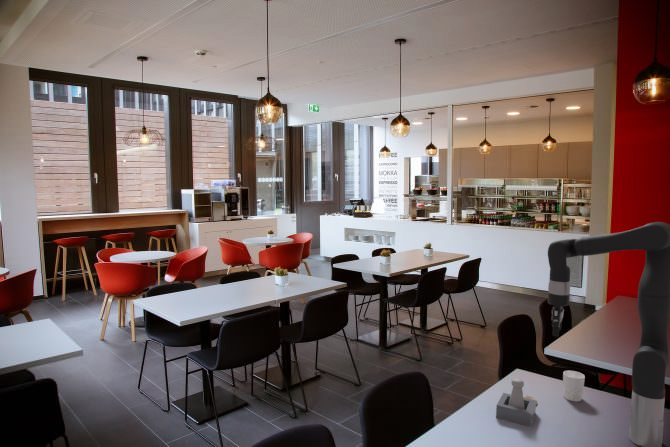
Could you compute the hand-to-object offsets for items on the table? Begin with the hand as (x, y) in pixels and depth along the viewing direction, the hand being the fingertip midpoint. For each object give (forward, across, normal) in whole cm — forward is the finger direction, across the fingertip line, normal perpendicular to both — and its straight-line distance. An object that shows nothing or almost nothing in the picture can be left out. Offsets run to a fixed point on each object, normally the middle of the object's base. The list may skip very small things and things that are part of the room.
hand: (556, 333), depth 183 cm
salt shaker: (+29, -15, +11) cm, 34 cm away
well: (+30, -15, +11) cm, 35 cm away
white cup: (+30, +13, -6) cm, 34 cm away
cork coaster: (+30, -1, +10) cm, 32 cm away
